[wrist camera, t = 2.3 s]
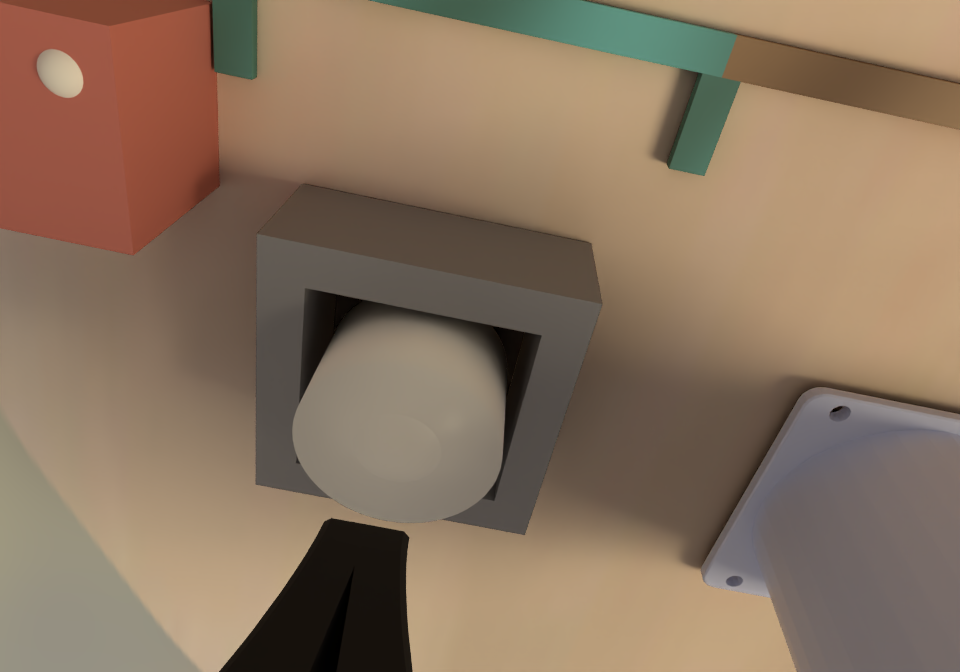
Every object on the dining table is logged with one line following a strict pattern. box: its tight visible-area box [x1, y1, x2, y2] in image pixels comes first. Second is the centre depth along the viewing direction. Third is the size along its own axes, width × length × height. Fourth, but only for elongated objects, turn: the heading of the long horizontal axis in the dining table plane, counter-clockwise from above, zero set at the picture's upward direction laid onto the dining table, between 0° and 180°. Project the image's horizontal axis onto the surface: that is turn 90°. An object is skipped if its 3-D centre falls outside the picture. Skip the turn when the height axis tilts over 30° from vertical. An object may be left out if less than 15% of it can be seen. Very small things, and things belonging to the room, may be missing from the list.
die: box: [0, 0, 220, 255], centre depth 13 cm, size 4×4×4 cm
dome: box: [292, 300, 508, 523], centre depth 15 cm, size 4×4×3 cm
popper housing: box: [256, 184, 602, 535], centre depth 16 cm, size 7×7×3 cm
